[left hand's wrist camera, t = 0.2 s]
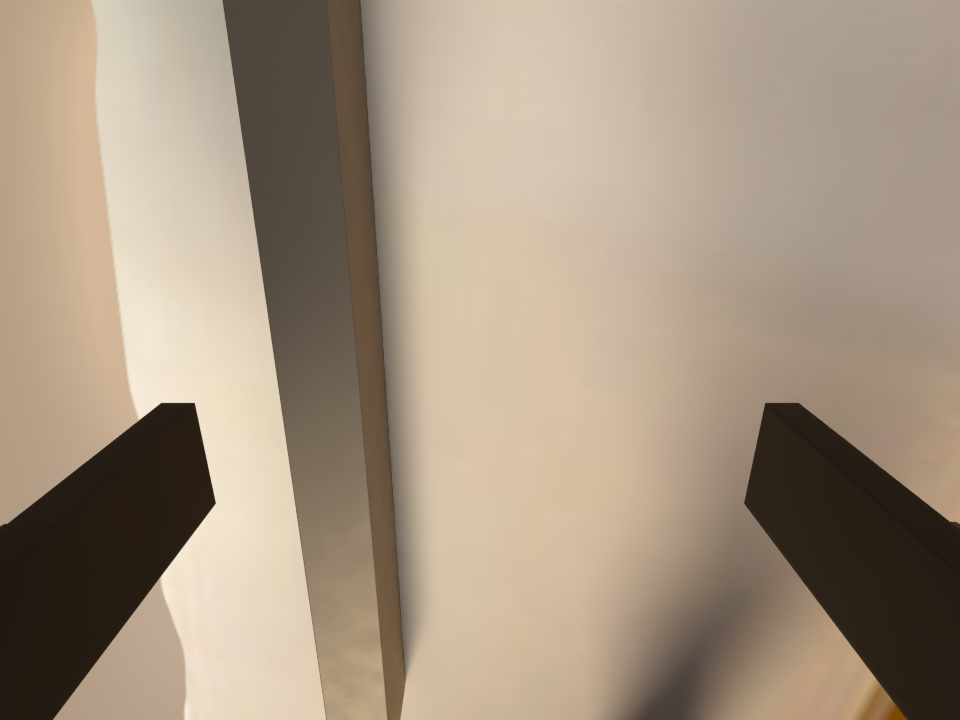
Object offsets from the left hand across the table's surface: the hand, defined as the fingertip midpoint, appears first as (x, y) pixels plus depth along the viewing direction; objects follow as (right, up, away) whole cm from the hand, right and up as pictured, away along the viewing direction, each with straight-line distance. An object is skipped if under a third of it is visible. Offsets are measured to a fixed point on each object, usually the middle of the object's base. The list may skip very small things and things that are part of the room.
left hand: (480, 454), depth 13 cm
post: (-10, +1, +29) cm, 31 cm away
